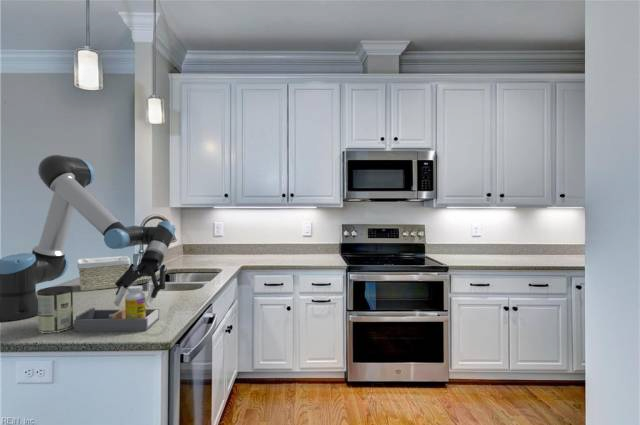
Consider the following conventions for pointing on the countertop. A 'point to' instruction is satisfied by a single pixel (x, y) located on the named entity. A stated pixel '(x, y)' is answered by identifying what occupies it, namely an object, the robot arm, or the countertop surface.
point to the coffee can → (55, 309)
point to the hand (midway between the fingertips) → (131, 304)
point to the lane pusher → (118, 314)
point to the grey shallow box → (113, 321)
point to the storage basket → (101, 272)
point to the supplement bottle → (135, 303)
